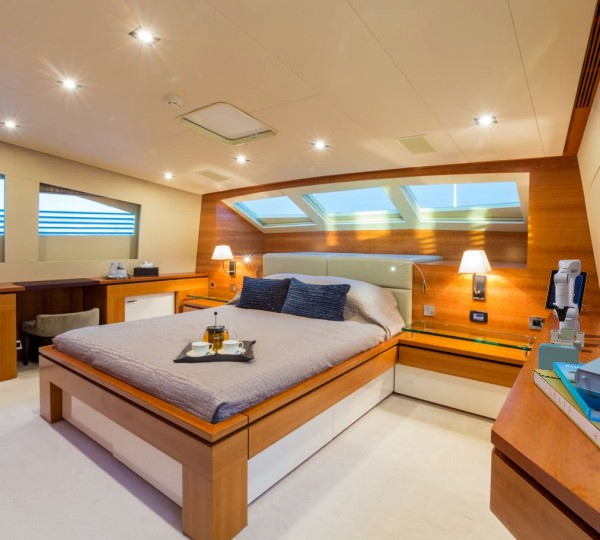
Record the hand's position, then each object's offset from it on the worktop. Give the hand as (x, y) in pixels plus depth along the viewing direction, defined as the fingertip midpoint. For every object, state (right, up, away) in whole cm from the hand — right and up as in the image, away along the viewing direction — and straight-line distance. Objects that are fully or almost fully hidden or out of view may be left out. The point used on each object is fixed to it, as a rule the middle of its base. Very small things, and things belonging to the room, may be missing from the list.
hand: (562, 320), depth 191 cm
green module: (-3, -10, -7) cm, 13 cm away
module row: (-3, -11, -7) cm, 13 cm away
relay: (-8, -11, -21) cm, 25 cm away
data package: (-44, -13, -57) cm, 74 cm away
